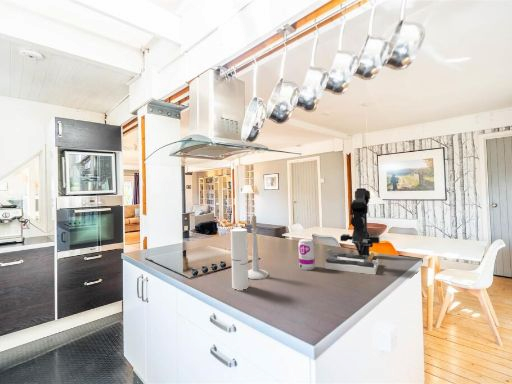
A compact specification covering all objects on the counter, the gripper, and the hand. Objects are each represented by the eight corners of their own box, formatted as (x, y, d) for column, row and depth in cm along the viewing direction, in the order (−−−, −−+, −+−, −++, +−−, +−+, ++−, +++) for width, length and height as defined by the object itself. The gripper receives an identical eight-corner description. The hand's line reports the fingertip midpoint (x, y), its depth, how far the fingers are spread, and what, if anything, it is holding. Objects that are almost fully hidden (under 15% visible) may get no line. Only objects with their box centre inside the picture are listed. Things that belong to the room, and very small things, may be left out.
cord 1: (326, 261, 140) (326, 257, 140) (374, 266, 128) (374, 262, 128) (325, 262, 137) (325, 258, 137) (374, 268, 125) (373, 263, 125)
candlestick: (271, 272, 133) (269, 213, 133) (264, 280, 121) (262, 216, 121) (247, 270, 137) (246, 213, 137) (238, 278, 124) (237, 216, 124)
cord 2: (332, 255, 152) (332, 251, 152) (377, 259, 140) (376, 255, 140) (331, 256, 149) (331, 253, 149) (376, 260, 138) (376, 257, 138)
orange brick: (366, 259, 137) (371, 251, 136) (369, 261, 136) (374, 253, 135) (365, 261, 133) (370, 253, 132) (368, 263, 132) (373, 255, 131)
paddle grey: (333, 258, 145) (328, 249, 147) (335, 256, 145) (330, 248, 146) (331, 259, 142) (326, 251, 143) (333, 258, 141) (328, 250, 142)
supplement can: (310, 271, 133) (310, 242, 133) (296, 268, 138) (295, 240, 138) (317, 267, 139) (316, 239, 139) (303, 265, 144) (302, 238, 144)
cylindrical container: (233, 284, 116) (231, 228, 116) (249, 284, 116) (247, 228, 116) (231, 290, 109) (229, 231, 109) (248, 290, 109) (246, 231, 109)
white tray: (333, 260, 152) (333, 251, 152) (378, 265, 140) (378, 255, 140) (325, 268, 137) (325, 259, 137) (375, 274, 125) (374, 264, 125)
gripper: (337, 226, 134) (338, 256, 134) (377, 228, 125) (378, 260, 125) (342, 223, 144) (342, 252, 144) (379, 225, 134) (380, 255, 134)
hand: (360, 254), depth 136 cm, fingers closed
